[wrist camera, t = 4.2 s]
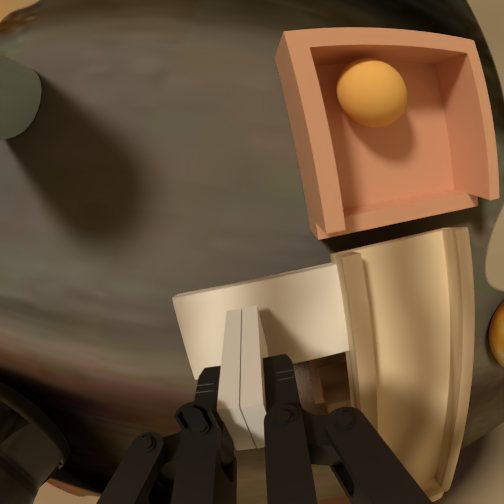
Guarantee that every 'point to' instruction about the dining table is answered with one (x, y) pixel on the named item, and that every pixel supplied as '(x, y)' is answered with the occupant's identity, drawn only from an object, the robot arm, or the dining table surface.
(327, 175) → the dish
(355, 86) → the ball
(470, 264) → the lever
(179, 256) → the dining table surface
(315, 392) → the fulcrum
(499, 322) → the fruit
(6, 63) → the cup
